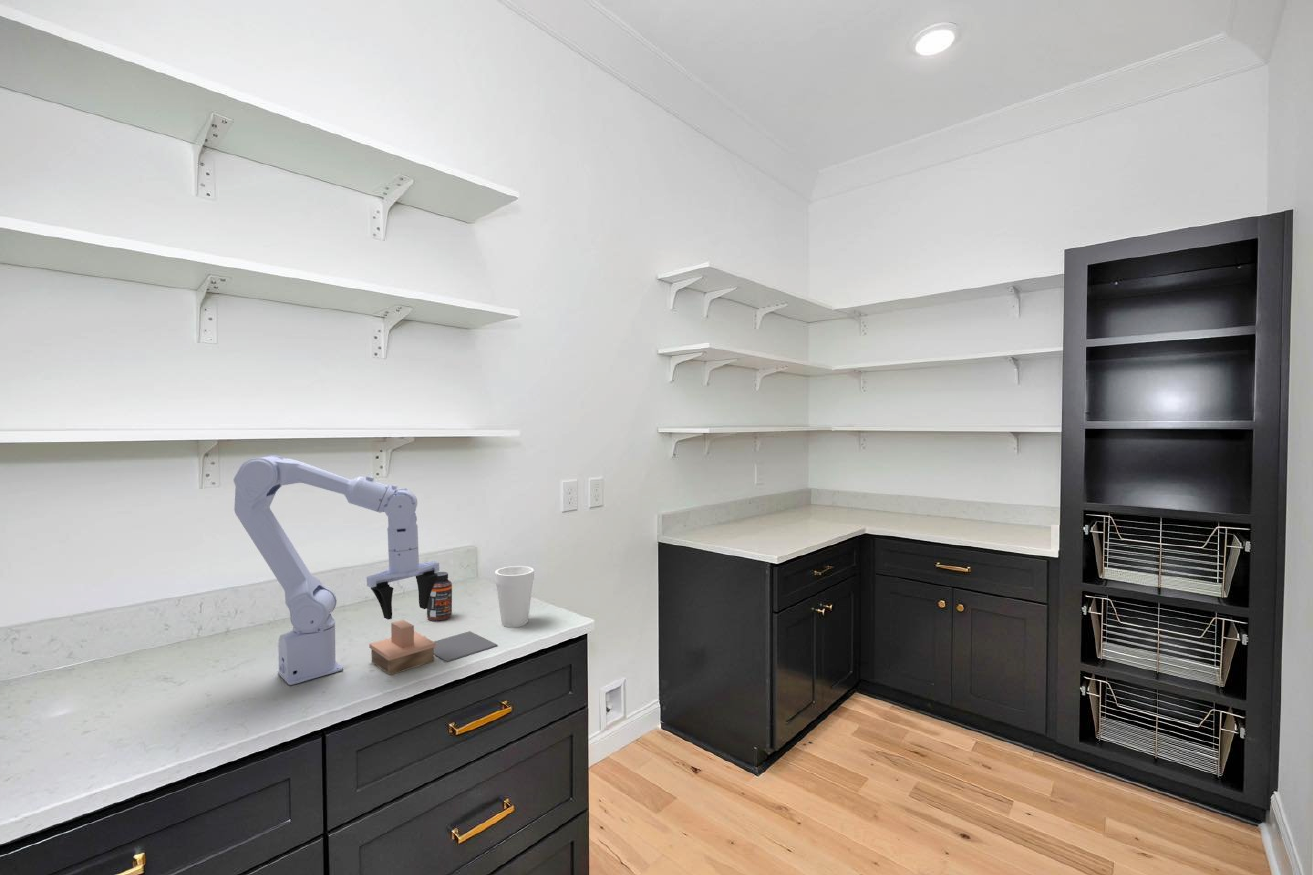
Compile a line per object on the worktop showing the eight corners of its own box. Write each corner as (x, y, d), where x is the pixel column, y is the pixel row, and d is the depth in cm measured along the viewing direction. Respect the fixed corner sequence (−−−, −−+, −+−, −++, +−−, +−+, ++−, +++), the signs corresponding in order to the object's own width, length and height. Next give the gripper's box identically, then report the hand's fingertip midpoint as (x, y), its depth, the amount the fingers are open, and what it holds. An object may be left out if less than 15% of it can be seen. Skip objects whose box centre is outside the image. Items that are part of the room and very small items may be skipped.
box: (389, 674, 114) (389, 659, 113) (371, 661, 120) (371, 647, 120) (433, 661, 120) (433, 646, 120) (414, 649, 126) (414, 635, 126)
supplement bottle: (435, 623, 142) (435, 577, 142) (422, 618, 146) (421, 573, 146) (456, 616, 147) (456, 572, 147) (443, 612, 151) (443, 569, 151)
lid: (388, 663, 113) (388, 636, 113) (369, 650, 120) (369, 624, 119) (435, 649, 120) (435, 623, 120) (415, 637, 127) (414, 613, 126)
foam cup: (488, 622, 144) (488, 570, 143) (521, 613, 150) (521, 564, 149) (506, 632, 137) (506, 577, 136) (541, 623, 143) (540, 571, 142)
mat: (446, 662, 120) (446, 660, 120) (420, 646, 128) (420, 645, 128) (497, 645, 128) (497, 644, 128) (469, 632, 136) (469, 631, 136)
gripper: (377, 558, 111) (380, 627, 112) (445, 544, 123) (448, 607, 123) (360, 553, 116) (363, 619, 117) (428, 540, 127) (431, 600, 128)
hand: (406, 612), depth 120 cm, fingers open, 7 cm apart
